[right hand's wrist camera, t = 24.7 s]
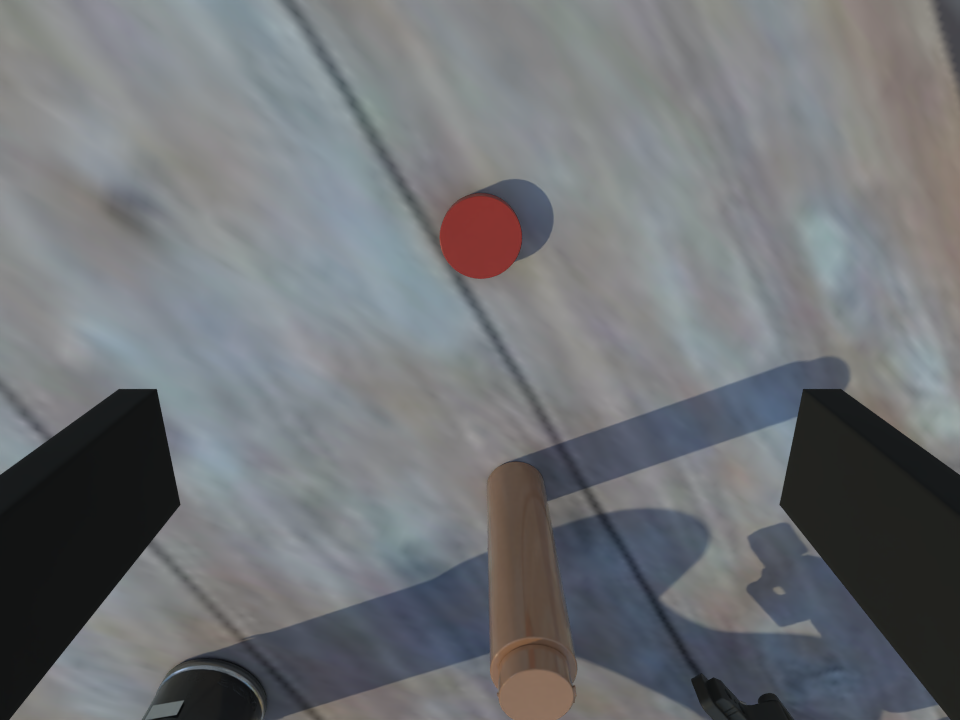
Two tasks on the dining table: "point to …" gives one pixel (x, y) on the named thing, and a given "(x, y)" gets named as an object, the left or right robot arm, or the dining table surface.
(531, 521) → the wooden cylinder
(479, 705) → the dining table surface
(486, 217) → the lid
